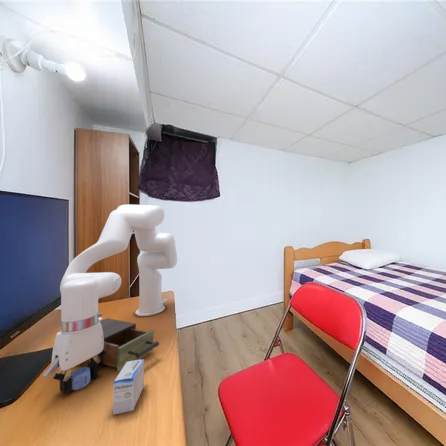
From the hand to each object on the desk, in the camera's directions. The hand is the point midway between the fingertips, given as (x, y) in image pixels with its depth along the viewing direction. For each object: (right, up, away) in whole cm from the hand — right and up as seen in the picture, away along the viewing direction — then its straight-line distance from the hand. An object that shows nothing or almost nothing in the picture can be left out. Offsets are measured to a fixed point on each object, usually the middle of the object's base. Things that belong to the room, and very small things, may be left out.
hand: (80, 383), depth 62 cm
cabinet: (-6, 0, +14) cm, 16 cm away
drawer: (+5, +1, +11) cm, 12 cm away
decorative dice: (0, -1, 0) cm, 1 cm away
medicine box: (+18, -1, -5) cm, 19 cm away
